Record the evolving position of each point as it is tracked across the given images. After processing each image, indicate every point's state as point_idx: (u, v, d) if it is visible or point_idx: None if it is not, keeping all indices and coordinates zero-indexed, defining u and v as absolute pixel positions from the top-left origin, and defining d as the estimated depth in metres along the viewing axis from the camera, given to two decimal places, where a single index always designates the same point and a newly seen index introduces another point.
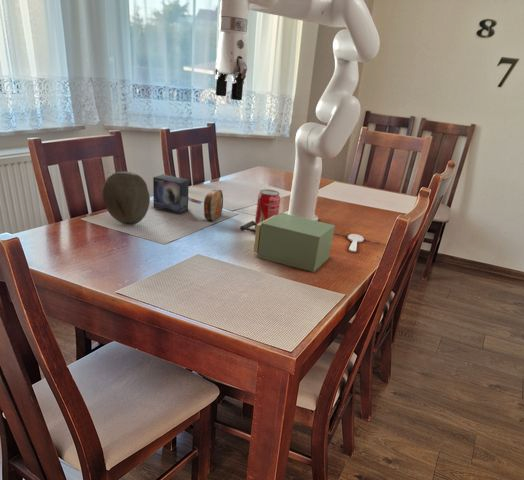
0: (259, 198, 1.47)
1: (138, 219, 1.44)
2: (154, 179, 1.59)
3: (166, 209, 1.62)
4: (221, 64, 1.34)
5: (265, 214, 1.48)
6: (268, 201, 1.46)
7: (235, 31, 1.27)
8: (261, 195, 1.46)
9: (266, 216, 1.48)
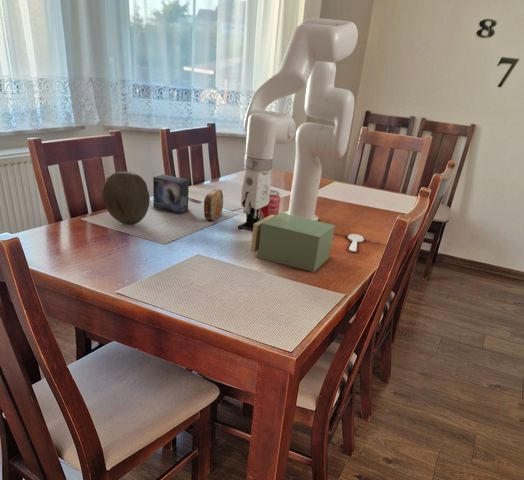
0: None
1: (138, 219, 1.44)
2: (154, 179, 1.59)
3: (166, 209, 1.62)
4: None
5: (265, 214, 1.48)
6: None
7: (248, 169, 1.28)
8: None
9: (266, 216, 1.48)
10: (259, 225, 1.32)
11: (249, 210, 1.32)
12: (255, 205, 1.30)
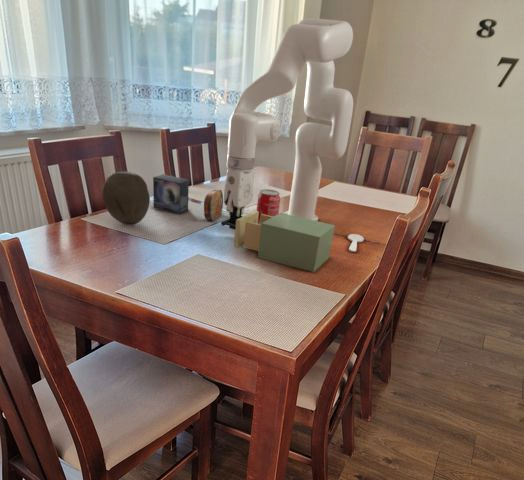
0: (259, 198, 1.47)
1: (138, 219, 1.44)
2: (154, 179, 1.59)
3: (166, 209, 1.62)
4: None
5: (265, 214, 1.48)
6: (268, 201, 1.46)
7: (230, 168, 1.30)
8: (261, 195, 1.46)
9: None
10: (242, 221, 1.34)
11: (232, 208, 1.34)
12: (237, 203, 1.32)
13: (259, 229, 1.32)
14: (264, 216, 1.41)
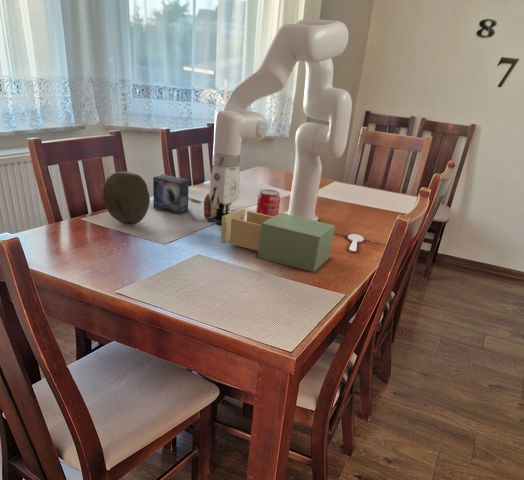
0: (259, 198, 1.47)
1: (138, 219, 1.44)
2: (154, 179, 1.59)
3: (166, 209, 1.62)
4: None
5: (265, 214, 1.48)
6: (268, 201, 1.46)
7: (216, 165, 1.31)
8: (261, 195, 1.46)
9: None
10: (228, 217, 1.35)
11: (218, 205, 1.36)
12: (223, 200, 1.33)
13: (245, 225, 1.33)
14: (250, 213, 1.42)
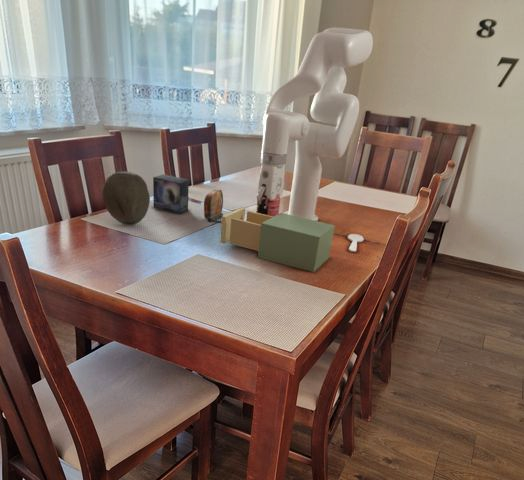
0: None
1: (138, 219, 1.44)
2: (154, 179, 1.59)
3: (166, 209, 1.62)
4: None
5: None
6: None
7: (264, 163, 1.41)
8: None
9: None
10: (227, 217, 1.35)
11: None
12: (270, 196, 1.43)
13: (244, 225, 1.33)
14: (250, 213, 1.42)
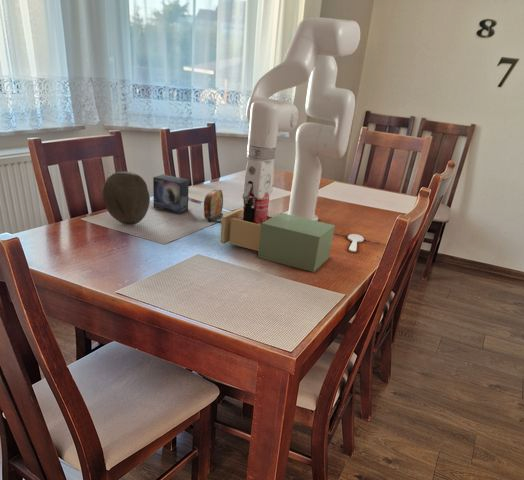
0: None
1: (138, 219, 1.44)
2: (154, 179, 1.59)
3: (166, 209, 1.62)
4: None
5: None
6: None
7: (251, 158, 1.26)
8: None
9: None
10: (227, 217, 1.35)
11: (250, 193, 1.29)
12: (258, 194, 1.29)
13: (244, 225, 1.33)
14: None
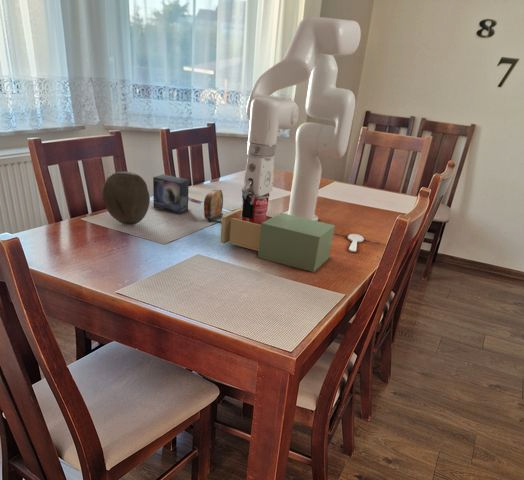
0: None
1: (138, 219, 1.44)
2: (154, 179, 1.59)
3: (166, 209, 1.62)
4: None
5: (251, 219, 1.34)
6: (254, 205, 1.32)
7: (251, 155, 1.26)
8: None
9: (252, 221, 1.34)
10: (227, 217, 1.35)
11: (250, 188, 1.27)
12: (258, 192, 1.28)
13: (244, 225, 1.33)
14: None
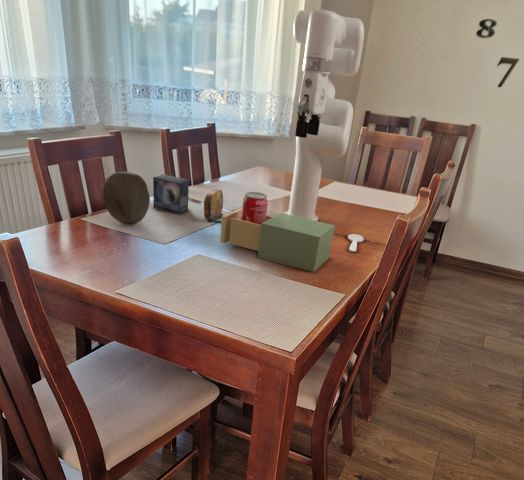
0: (244, 202, 1.33)
1: (138, 219, 1.44)
2: (154, 179, 1.59)
3: (166, 209, 1.62)
4: None
5: (251, 219, 1.34)
6: (254, 205, 1.32)
7: (307, 70, 1.26)
8: (246, 198, 1.32)
9: (252, 221, 1.34)
10: (227, 217, 1.35)
11: (306, 104, 1.28)
12: (313, 108, 1.28)
13: (244, 225, 1.33)
14: None
